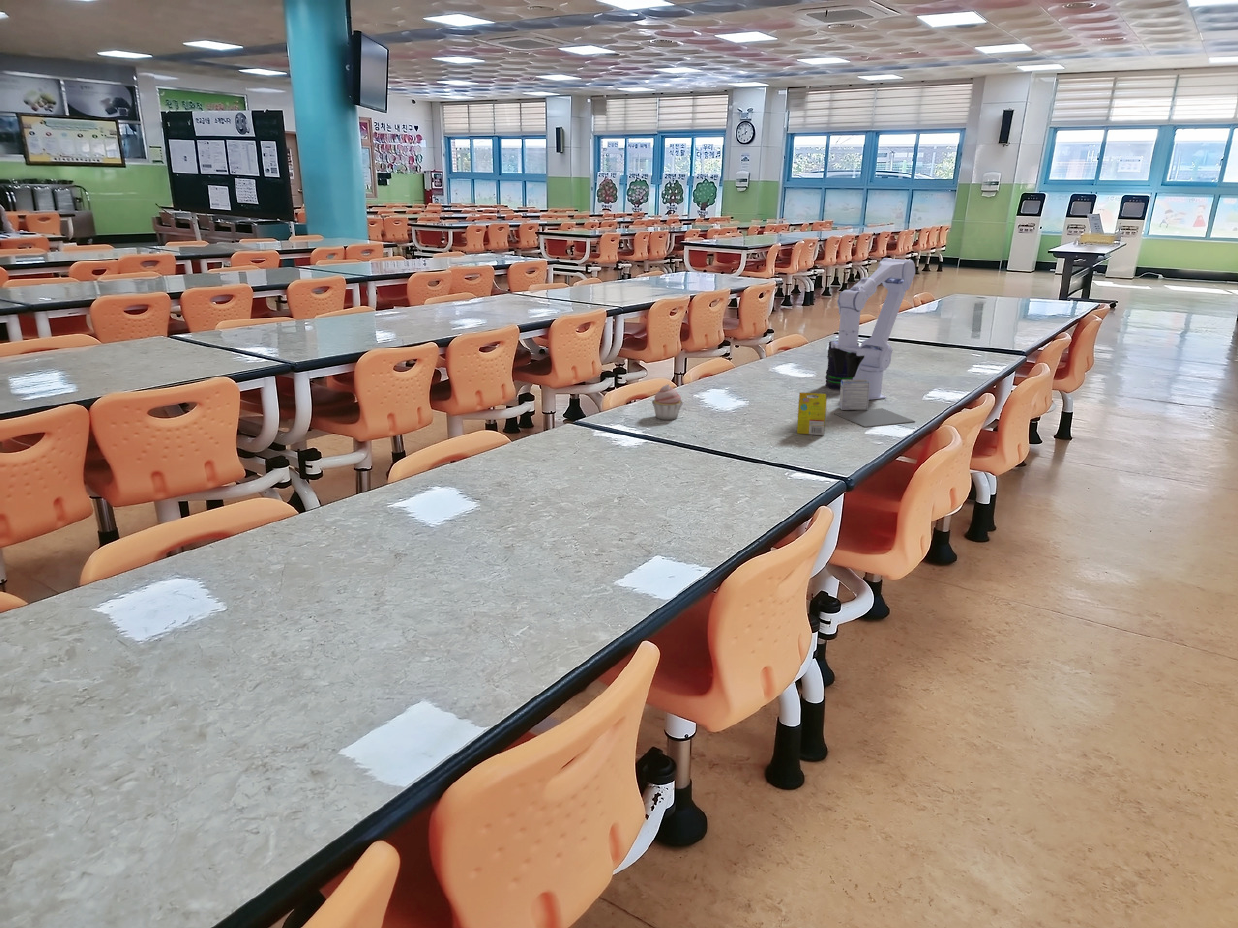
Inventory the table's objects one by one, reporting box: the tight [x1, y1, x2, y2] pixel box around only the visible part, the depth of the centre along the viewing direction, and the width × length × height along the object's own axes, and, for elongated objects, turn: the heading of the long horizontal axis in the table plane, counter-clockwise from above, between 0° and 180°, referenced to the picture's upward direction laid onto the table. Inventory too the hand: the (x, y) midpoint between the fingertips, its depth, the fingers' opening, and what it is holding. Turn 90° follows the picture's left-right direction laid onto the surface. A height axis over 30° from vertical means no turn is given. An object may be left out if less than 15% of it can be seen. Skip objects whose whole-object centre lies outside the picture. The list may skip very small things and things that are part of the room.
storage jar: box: [824, 339, 860, 391], centre depth 278 cm, size 10×10×15 cm
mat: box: [833, 407, 916, 428], centre depth 243 cm, size 16×17×1 cm
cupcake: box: [651, 383, 684, 421], centre depth 242 cm, size 9×9×10 cm
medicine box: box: [839, 380, 870, 411], centre depth 251 cm, size 8×4×9 cm, turn 84°
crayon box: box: [796, 392, 827, 436], centre depth 226 cm, size 7×3×12 cm, turn 74°
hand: (844, 375), depth 255 cm, fingers open, 6 cm apart
